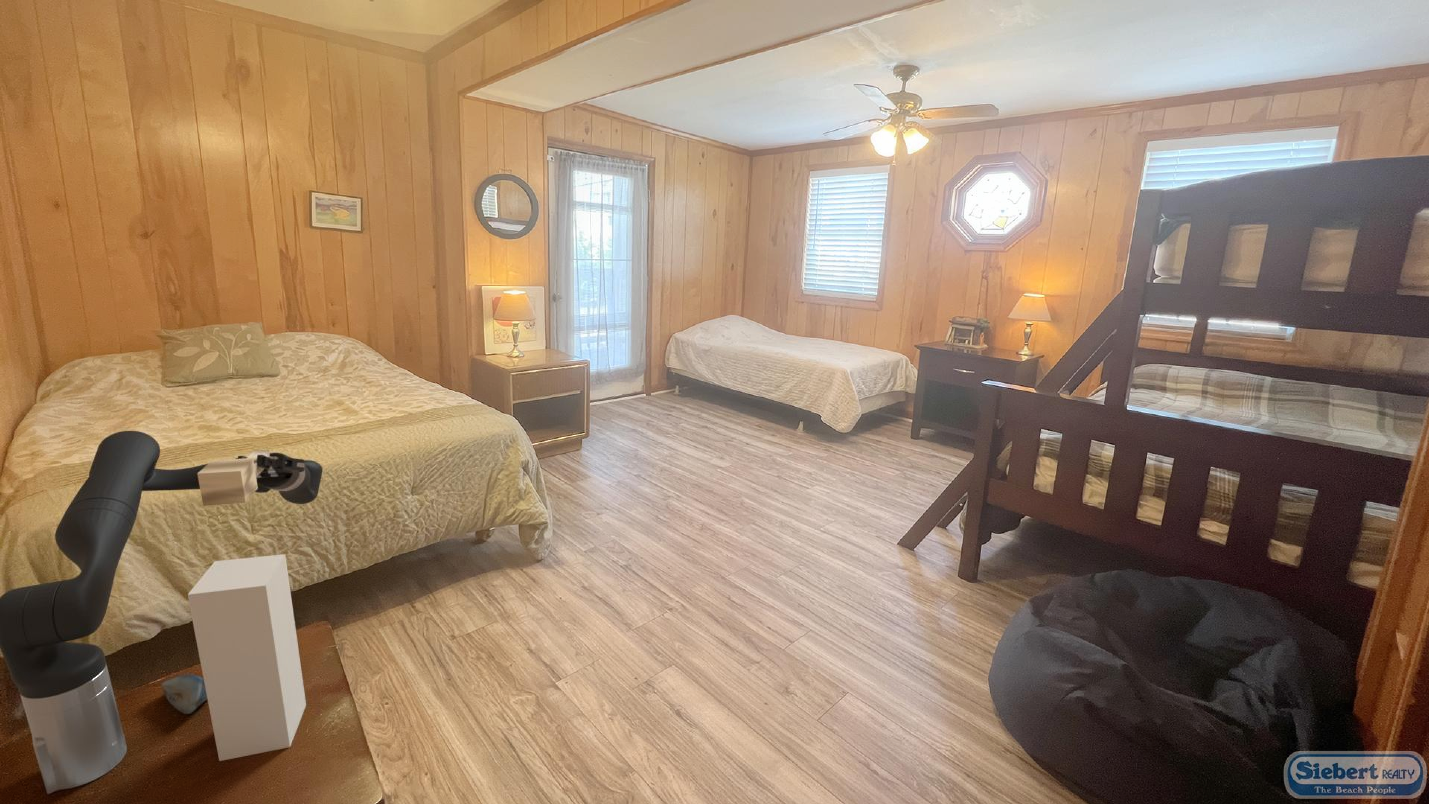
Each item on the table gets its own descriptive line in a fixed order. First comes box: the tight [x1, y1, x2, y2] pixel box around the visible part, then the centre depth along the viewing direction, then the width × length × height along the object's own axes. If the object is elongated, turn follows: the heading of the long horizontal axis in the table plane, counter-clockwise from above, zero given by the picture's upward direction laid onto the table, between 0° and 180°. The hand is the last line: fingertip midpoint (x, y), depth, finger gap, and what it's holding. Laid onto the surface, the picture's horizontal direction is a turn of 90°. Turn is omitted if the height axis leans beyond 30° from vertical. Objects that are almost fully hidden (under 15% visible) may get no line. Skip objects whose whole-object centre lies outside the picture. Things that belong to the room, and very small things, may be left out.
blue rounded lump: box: [161, 673, 208, 715], centre depth 109 cm, size 6×9×10 cm
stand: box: [187, 553, 307, 762], centre depth 101 cm, size 10×10×32 cm
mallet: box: [197, 449, 271, 507], centre depth 110 cm, size 20×6×6 cm, turn 21°
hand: (249, 460), depth 113 cm, fingers closed on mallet, 2 cm apart
